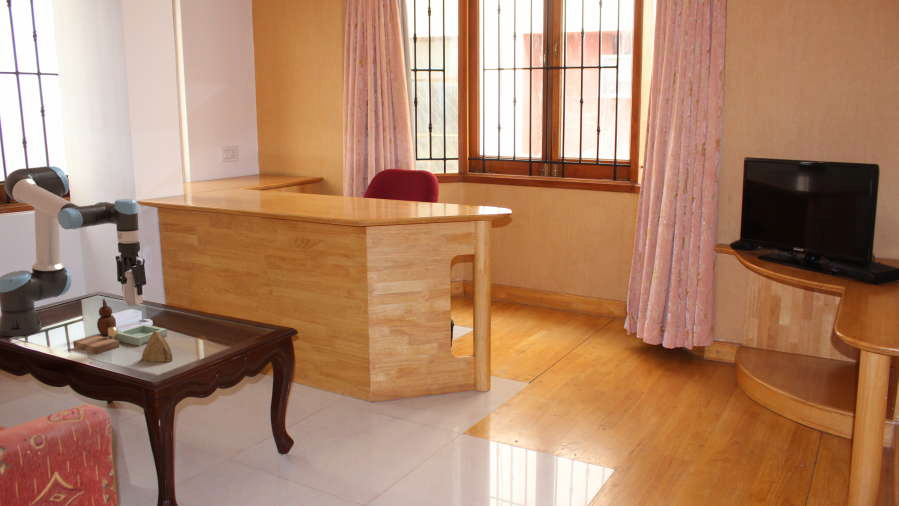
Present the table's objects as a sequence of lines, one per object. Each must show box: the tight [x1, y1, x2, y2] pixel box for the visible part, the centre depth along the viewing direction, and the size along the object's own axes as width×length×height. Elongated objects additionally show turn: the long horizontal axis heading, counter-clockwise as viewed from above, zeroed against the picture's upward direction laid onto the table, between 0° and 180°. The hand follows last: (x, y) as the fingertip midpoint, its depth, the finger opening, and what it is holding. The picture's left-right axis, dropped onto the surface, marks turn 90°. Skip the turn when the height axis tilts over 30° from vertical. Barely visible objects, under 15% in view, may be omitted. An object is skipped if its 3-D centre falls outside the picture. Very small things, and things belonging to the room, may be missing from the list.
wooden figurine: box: [96, 298, 117, 337], centre depth 297 cm, size 7×6×15 cm
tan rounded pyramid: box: [140, 331, 173, 363], centre depth 269 cm, size 11×9×10 cm
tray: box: [117, 323, 168, 346], centre depth 294 cm, size 13×13×3 cm
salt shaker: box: [124, 269, 141, 307], centre depth 284 cm, size 6×6×13 cm
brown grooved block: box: [72, 334, 120, 355], centre depth 283 cm, size 14×9×3 cm, turn 61°
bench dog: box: [107, 326, 118, 340], centre depth 288 cm, size 3×3×6 cm
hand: (133, 301), depth 285 cm, fingers closed on salt shaker, 6 cm apart
